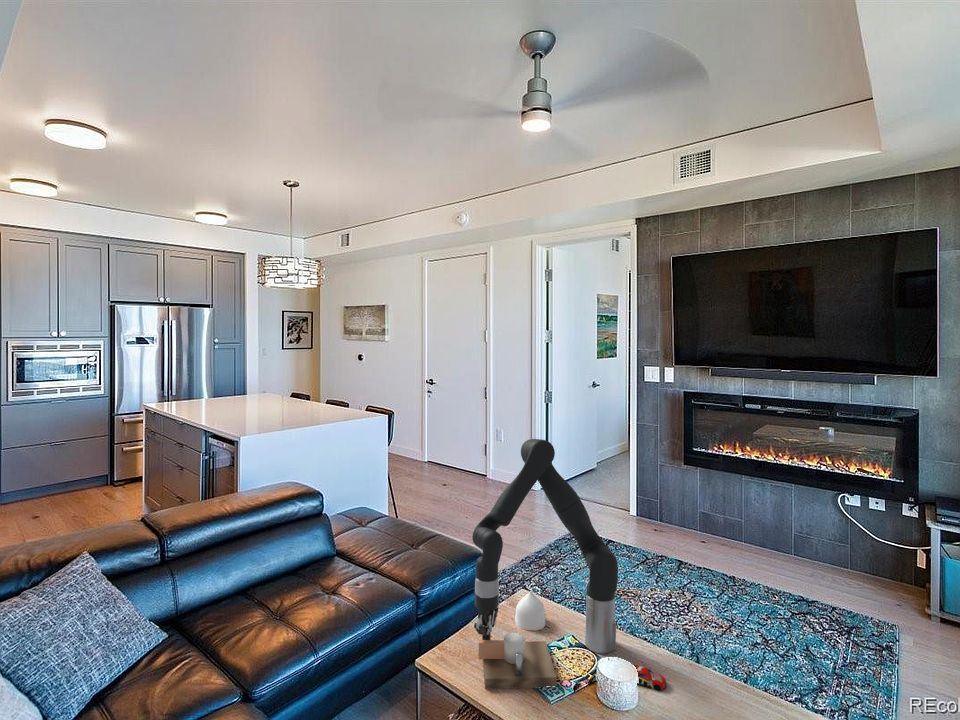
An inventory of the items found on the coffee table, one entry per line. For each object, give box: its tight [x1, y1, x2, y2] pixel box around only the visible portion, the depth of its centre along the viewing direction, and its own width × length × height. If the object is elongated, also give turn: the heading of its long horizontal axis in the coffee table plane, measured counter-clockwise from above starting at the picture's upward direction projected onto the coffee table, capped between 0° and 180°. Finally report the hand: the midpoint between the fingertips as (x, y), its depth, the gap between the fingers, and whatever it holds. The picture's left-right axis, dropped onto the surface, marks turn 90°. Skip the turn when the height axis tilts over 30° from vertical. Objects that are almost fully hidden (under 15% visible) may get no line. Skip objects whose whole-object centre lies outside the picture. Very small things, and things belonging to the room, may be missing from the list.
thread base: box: [481, 640, 558, 690], centre depth 158 cm, size 21×18×9 cm
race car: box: [632, 663, 668, 692], centre depth 153 cm, size 13×5×4 cm, turn 64°
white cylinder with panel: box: [478, 632, 526, 664], centre depth 158 cm, size 14×6×6 cm, turn 90°
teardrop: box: [514, 589, 546, 631], centre depth 184 cm, size 11×11×12 cm
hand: (486, 644), depth 161 cm, fingers closed
